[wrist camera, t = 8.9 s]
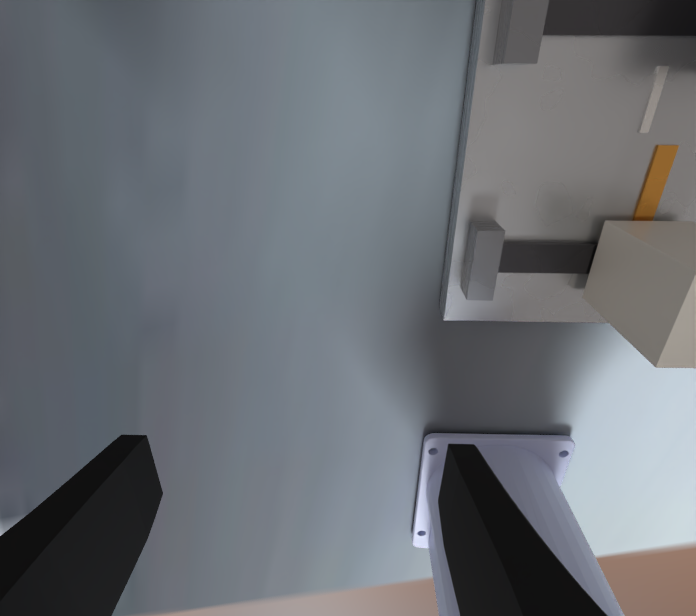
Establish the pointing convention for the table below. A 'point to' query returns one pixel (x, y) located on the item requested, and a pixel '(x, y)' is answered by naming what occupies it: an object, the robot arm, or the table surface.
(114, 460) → the robot arm
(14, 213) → the table surface
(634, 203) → the console
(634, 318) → the block
